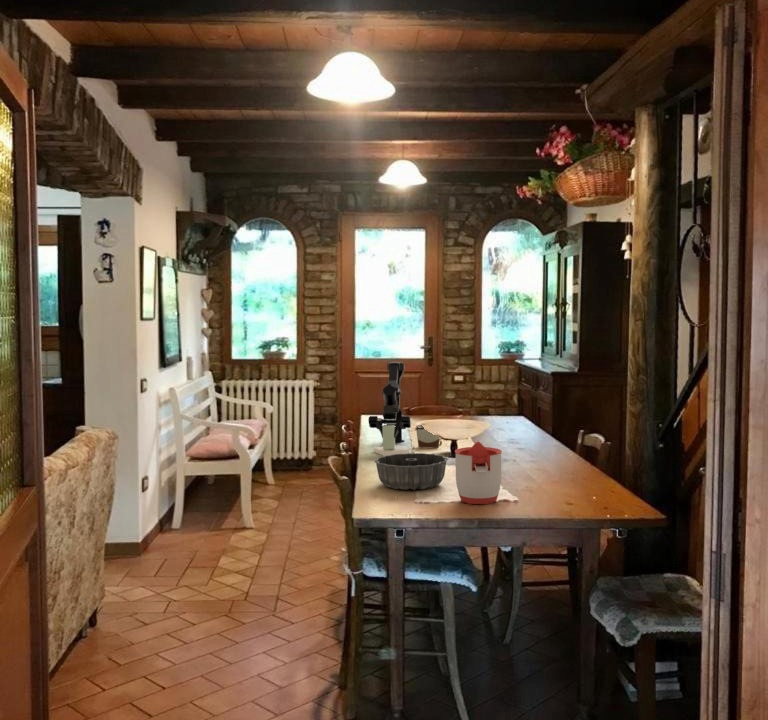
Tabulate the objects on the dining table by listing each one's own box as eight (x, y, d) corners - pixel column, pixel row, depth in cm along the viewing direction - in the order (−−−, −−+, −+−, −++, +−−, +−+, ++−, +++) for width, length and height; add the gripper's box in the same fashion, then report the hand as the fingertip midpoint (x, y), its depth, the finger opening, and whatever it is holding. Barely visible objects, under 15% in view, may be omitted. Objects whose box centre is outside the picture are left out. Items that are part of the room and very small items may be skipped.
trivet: (374, 451, 354) (374, 447, 354) (398, 449, 359) (398, 445, 359) (384, 456, 343) (384, 451, 343) (409, 453, 348) (409, 449, 348)
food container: (442, 445, 368) (441, 424, 368) (441, 447, 362) (441, 426, 362) (416, 445, 370) (415, 424, 369) (415, 447, 363) (414, 426, 363)
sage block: (384, 446, 351) (383, 424, 350) (395, 446, 351) (394, 424, 350) (382, 449, 346) (382, 426, 345) (394, 449, 346) (393, 426, 345)
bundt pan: (364, 482, 292) (363, 456, 292) (426, 475, 303) (426, 449, 302) (394, 497, 268) (393, 468, 268) (461, 489, 279) (460, 461, 278)
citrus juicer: (458, 508, 251) (457, 447, 250) (453, 495, 269) (452, 438, 267) (506, 507, 251) (506, 446, 250) (498, 495, 269) (498, 437, 267)
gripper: (368, 398, 352) (365, 426, 342) (409, 398, 350) (408, 426, 339) (371, 413, 360) (368, 441, 350) (411, 413, 358) (409, 441, 348)
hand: (388, 437), depth 347 cm, fingers closed on sage block, 5 cm apart
